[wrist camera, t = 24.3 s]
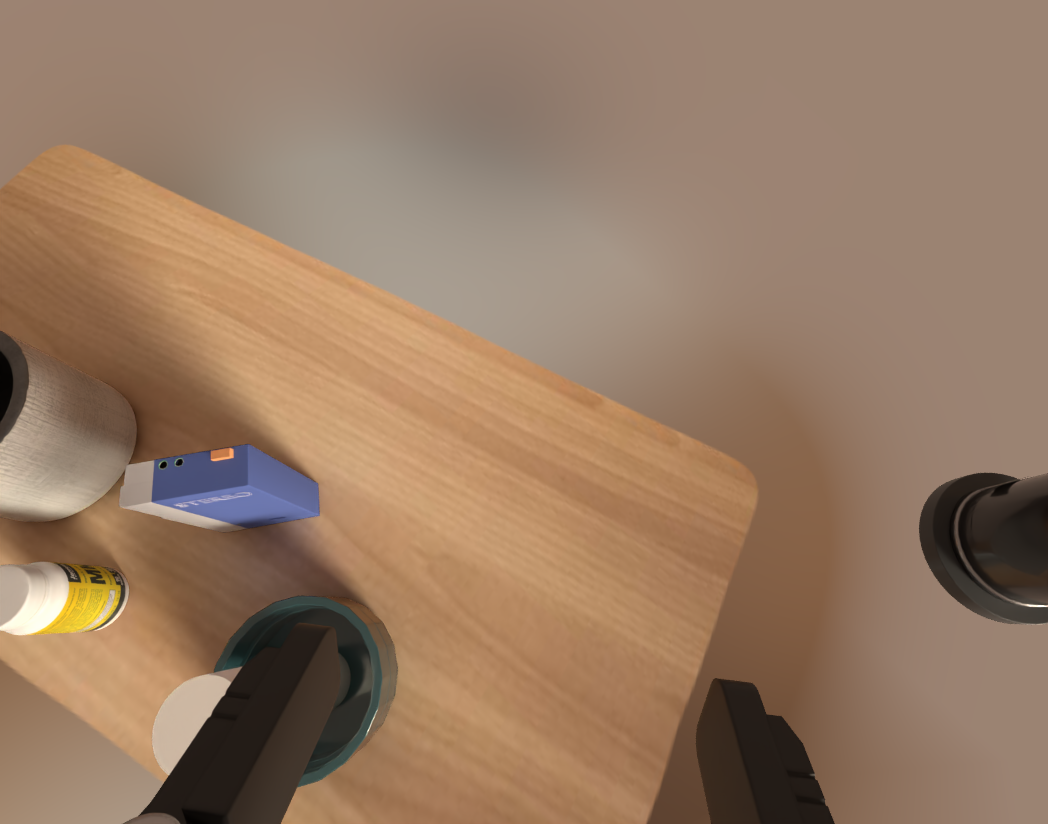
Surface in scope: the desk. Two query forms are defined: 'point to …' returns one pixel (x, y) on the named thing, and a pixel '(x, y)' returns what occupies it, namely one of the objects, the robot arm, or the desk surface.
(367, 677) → the bowl
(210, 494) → the walkman
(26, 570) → the supplement bottle
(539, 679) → the desk surface
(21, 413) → the planter
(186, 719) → the tube
